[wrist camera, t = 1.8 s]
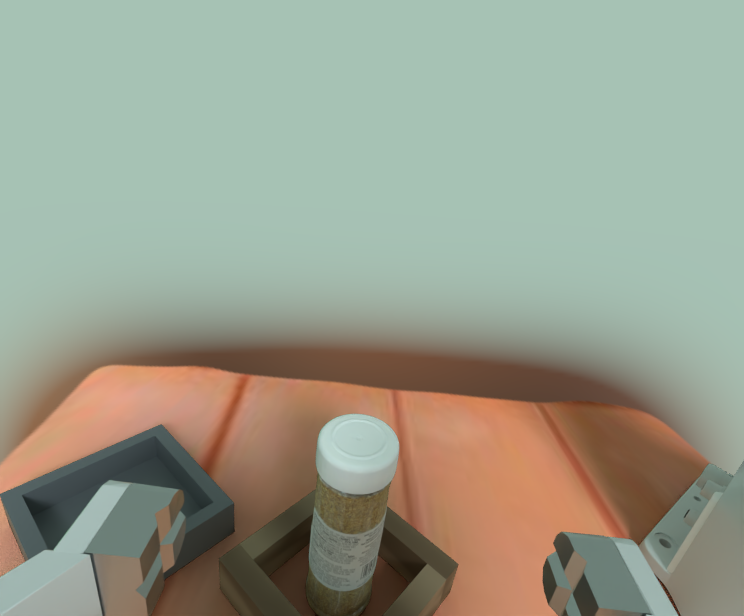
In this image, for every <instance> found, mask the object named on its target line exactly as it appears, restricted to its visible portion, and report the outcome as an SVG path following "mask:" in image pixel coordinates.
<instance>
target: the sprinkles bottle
mask: <svg viewBox="0 0 744 616" xmlns="http://www.w3.org/2000/svg"><path fill="white" fill-rule="evenodd" d="M398 455H399V441H398V438H397V436H396V434H395V432H394V431H393V430H392V429H391V427H389V426H388V425H387V424H386V423H384V422H383V421H381V420H379V419H377V418H375V417H372V416H368V415H364V414H347V415H342V416H339V417H336V418H334V419H332V420H331V421H329V422H328V423H327V424H326V425H324V427H323V428H322V429H321V431H320V433H319V436H318V441H317V450H316V468H317V471H318V475H317V486H316V494H315V505H314V513H313V520H312V525H311V536H310V547H309V571H308V576H307V579H306V586H305V588H306V596H307V600H308V602H309V605H310V607H311V608H312V610H313V611H315V613H316V614H317V615H318V616H359V615H360V614H361V613H362V612H363V611H364V609H365V607H366V606H367V605H368V603H369V600H370V596H371V592H372V578H373V573H374V570H375V567H376V563H377V557H378V552H379V547H380V542H381V537H382V532H383V527H384V521H385V516H386V510H387V500H388V492H389V487H390V483H391V481H392V479H393V477H394V475H395V472H396V467H397V462H398Z"/></svg>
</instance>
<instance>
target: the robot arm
mask: <svg viewBox="0 0 744 616" xmlns="http://www.w3.org/2000/svg"><path fill="white" fill-rule="evenodd" d="M183 504H184V494H183V490H180V489H173V488H166V487H159V486H151V485H144V484H137V483H129V482H121V481H113V480H109V481H108V482H106V483H105V484H103V485H102V486H101V487H100V488H99V490H98V491H97V492H96V494H95V495H94V496H93V498H92V499H91V500H90V502H89V503H88V504H87V506H86V507H85V508H84V510H83V511H82V512H81V514H80V515H79V516H78V518H77V519H76V520H75V522H74V523H73V524H72V526H71V527H70V528H69V530H68V531H67V532H66V534H65V535H64V536H63V538H62V539H61V540H60V542H59V543H58V544H57V546H56V547H55V548H54V550H44V551H42V552H41V553H39V554H37V555H36V556H34V557H32V558H31V559H29V560H27V561H26V562H24V563H22V564H21V565H19V566H17V567H16V568H14V569H13V570H11V571H9V572H8V573H6V574H4V575H3V576H1V577H0V616H151V614H152V612H153V610H154V608H155V605H156V603H157V601H158V599H159V597H160V595H161V593H162V590H163V588H164V576H163V573H164V572H166V571H167V570H168V569H169V568H171V567H172V566H173V565H174V564H175V562H176V560H177V558H178V555H179V553H180V551H181V547H182V544H183V540H184V537H185V529H186V517H185V516H184V514H183V513H182V512H181V511H180V510H181V508H182V506H183ZM553 544H554V546H555V549H556V552H554V553H553V554H551V555H549V556H548V557H547V559H546V561H545V564H544V567H543V586H544V592H545V595H546V599H547V602H548V605H549V606H550V607H551V608H552V609H553V611H554V612H555V613H556V614H557V615H558V616H678V614H677V612H676V611H675V609H674V607H673V605H672V604H671V602H670V600H669V599H668V597H667V595H666V593H665V592H664V590H663V588H662V587H661V585H660V583H659V581H658V580H657V578H656V576H657V577H658V578H659V579H660V580H661V582H662V583H663V584H664V585H665V586H666V588H667V590H668V591H669V593H670V595H671V596H672V598H673V600H674V603H675V605H676V607H677V609H678V611H679V613H680V615H681V616H744V461H743V463H742V464H741V466H740V467H739V469H738V470H737V472H736V474H735V475H734V476H733V475H731V474H727V472H726V471H723V470H722V469H720V468H719V467H717V466H715V465H713V464H710V463H709V464H708V465H707V466H706V468H705V469H704V471H703V473H702V474H701V476H700V477H699V478H698V479H697V480H696V481H695V482H694V483H693V484H692V485H691V487H690V488H689V489H688V490H687V491H686V492H685V493H684V494H683V496H682V497H681V498H680V499H679V500H678V501H677V502H676V503H675V505H674V506H673V507H672V508H671V509H670V510H669V511H668V513H667V514H666V515H665V516H664V517H663V518H662V519H661V520H660V522H659V523H658V524H657V525H656V526H655V527H654V528H653V529H652V531H651V532H650V533H649V534H648V535H647V536H646V537H645V539H644V540H643V541H642V542H641V543H640V545H639V547H638V546H637V544H636V543H635V542H634V541H632V540H631V539H623V538H615V537H605V536H600V535H590V534H580V533H570V532H561V533H559V534H558V535H557V536H556V538H555V540H554V542H553ZM653 572H654V573H655V575H656V576H655V575H654V573H653Z"/></svg>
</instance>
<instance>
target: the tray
mask: <svg viewBox="0 0 744 616" xmlns="http://www.w3.org/2000/svg"><path fill="white" fill-rule="evenodd" d="M109 480H113V481H121V482H129V483H137V484H144V485H151V486H159V487H166V488H173V489H180V490H183V494H184V504H183V506H182V508H181V510H180V511H181V512H182V513H183V514H184V516H185V517H186V529H185V537H184V540H183V544H182V547H181V551H180V553H179V555H178V558H177V560H176V562H175V564H174V565H173V566H172V567H171V568H169V569H168V570H167V571H166V572H164V573H163V576H164V580H165V579H166V578H168V577H169V576H170V575H172V574H173V573H175V572H176V571H178V570H179V569H181V568H182V567H184V566H185V565H186V564H188V563H189V562H191V561H192V560H194V559H195V558H197V557H198V556H200V555H201V554H202V553H204V552H205V551H207V550H208V549H210V548H211V547H213V546H214V545H216V544H217V543H218V542H220V541H221V540H223V539H224V538H226V537H227V536H229V535H230V534H231V533H233V532H234V502H233V501H232V500H231V499H230V498H229V497H228V496H227V495H226V494H225V493H224V492H223V491H222V489H221V488H220V487H219V486H218V485H217V484H216V483H215V482H214V481H213V480H212V479H211V478H210V476H209V475H208V474H207V473H206V472H205V471H204V470H203V469H202V468H201V467H200V466H199V465H198V464H197V462H196V461H195V460H194V459H193V458H192V457H191V456H190V455H189V454H188V453H187V452H186V451H185V449H184V448H183V447H182V446H181V445H180V444H179V443H178V442H177V441H176V440H175V439H174V438H173V436H172V435H171V434H170V433H169V432H168V431H167V430H166V429H165V428H164V427H163V426H162V425H158V426H156V427H154V428H152V429H149V430H147V431H145V432H142V433H140V434H138V435H135V436H133V437H131V438H128V439H126V440H124V441H121V442H119V443H117V444H115V445H112V446H110V447H108V448H105V449H103V450H101V451H98V452H96V453H94V454H91V455H89V456H87V457H85V458H82V459H80V460H78V461H75V462H73V463H71V464H68V465H66V466H64V467H61V468H59V469H57V470H55V471H52V472H50V473H48V474H45V475H43V476H41V477H38V478H36V479H34V480H31V481H29V482H27V483H25V484H22V485H20V486H18V487H15V488H13V489H11V490H8V491H6V492H4V493H1V494H0V498H1V501H2V504H3V507H4V510H5V513H6V516H7V519H8V522H9V525H10V527H11V530H12V532H13V534H14V537H15V539H16V541H17V543H18V546H19V548H20V550H21V553H22V555H23V557H24V559H25V562H26V561H27V560H29V559H31V558H32V557H34V556H36V555H37V554H39V553H41V552H42V551H44V550H54V548H55V547H56V546H57V544H58V543H59V542H60V540H61V539H62V538H63V536H64V535H65V534H66V532H67V531H68V530H69V528H70V527H71V526H72V524H73V523H74V522H75V520H76V519H77V518H78V516H79V515H80V514H81V512H82V511H83V510H84V508H85V507H86V506H87V504H88V503H89V502H90V500H91V499H92V498H93V496H94V495H95V494H96V492H97V491H98V490H99V488H100V487H101V486H102V485H103V484H105V483H106V482H108V481H109Z"/></svg>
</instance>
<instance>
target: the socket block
mask: <svg viewBox="0 0 744 616" xmlns="http://www.w3.org/2000/svg"><path fill="white" fill-rule="evenodd" d="M315 494H316V489H315V490H314V491H313V492H311V493H310V494H308V495H307V496H306V497H304V498H303V499H301V500H300V501H299V502H297V503H296V504H294V505H293V506H292V507H290V508H289V509H287V510H286V511H285V512H283V513H282V514H280V515H279V516H278V517H276V518H275V519H274V520H272V521H271V522H269V523H268V524H267V525H265V526H264V527H262V528H261V529H260V530H258V531H257V532H255V533H254V534H253V535H251V536H250V537H248V538H247V539H246V540H244V541H243V542H241V543H240V544H239V545H237V546H236V547H234V548H233V549H232V550H230V551H229V552H228V553H226V554H225V555H223V556H222V557H221V558H219V576H220V589H221V591H222V592H223V593H224V595H225V596H226V597H227V599H228V600H229V601H230V603H231V604H232V605H233V607H234V608H235V609H236V610H237V612H238V613H239V614H240V616H301V614H300V613H299V612H298V611H297V610H296V609H295V607H294V606H293V605H292V604H291V603H290V602H289V601H288V599H287V598H286V597H285V596H284V595H283V594H282V592H281V591H280V590H279V589H278V588H277V587H276V585H275V584H274V583H273V582H272V581H271V580H270V578H269V577H268V576H270V575H271V574H272V573H273V572H274V571H276V570H277V569H278V568H279V567H281V566H282V565H283V564H284V563H285V562H287V561H288V560H289V559H290V558H292V557H293V556H294V555H295V554H296V553H298V552H299V551H300V550H301V549H302V548H304V547H305V546H306V545H307V544H309V543H310V536H311V525H312V520H313V513H314V505H315ZM378 555H379V556H381V557H382V558H383V559H384V560H385V561H386V562H387V563H388V564H389V565H391V566H392V567H393V568H394V569H395V570H396V571H397V572H398V573H399V574H400V575H402V576H403V577H404V578H405V579H406V580H407V581H408V582H409V583H410V584H409V585H408V587H407V588H406V589H405V590H404V591H403V592H402V593H401V595H400V596H399V597H398V598H397V599H396V600H395V602H394V603H393V604H392V605H391V606H390V607H389V609H388V610H387V611H386V612H385V613H384V614H383V615H382V616H432V615H433V614H434V613H435V611H436V610H437V609H438V607H439V606H440V605H441V603H442V602H443V601H444V599H445V598H446V597H447V595H448V594H449V593H450V590H451V587H452V583H453V580H454V577H455V574H456V571H457V567H458V564H457V563H456V562H455V561H454V560H453V559H451V558H450V557H449V556H448V555H446V554H445V553H444V552H443V551H441V550H440V549H439V548H438V547H436V546H435V545H434V544H433V543H432V542H430V541H429V540H428V539H427V538H425V537H424V536H423V535H422V534H420V533H419V532H418V531H417V530H416V529H414V528H413V527H412V526H411V525H409V524H408V523H407V522H406V521H404V520H403V519H402V518H401V517H399V516H398V515H397V514H396V513H395V512H393V511H392V510H391V509H390V508H388V507H387V510H386V516H385V521H384V527H383V532H382V537H381V542H380V547H379V552H378Z"/></svg>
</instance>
